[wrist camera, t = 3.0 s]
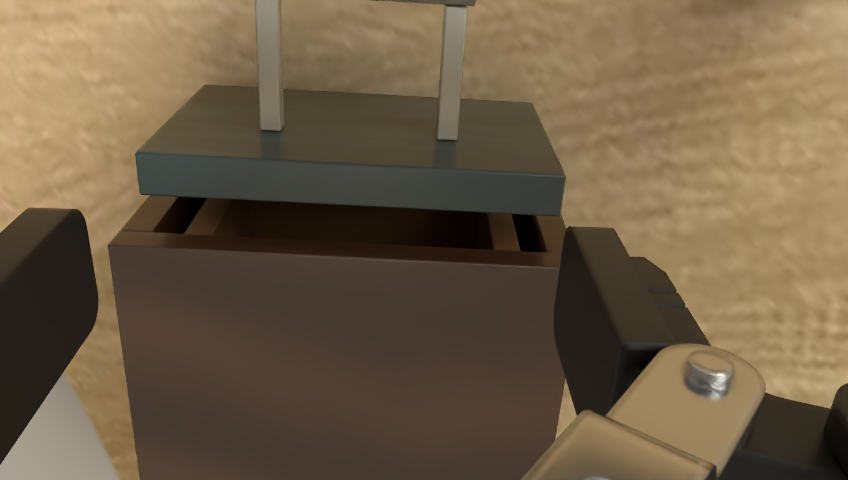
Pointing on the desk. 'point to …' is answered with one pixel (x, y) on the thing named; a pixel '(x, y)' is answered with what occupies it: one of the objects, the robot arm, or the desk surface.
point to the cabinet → (335, 353)
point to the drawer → (355, 157)
